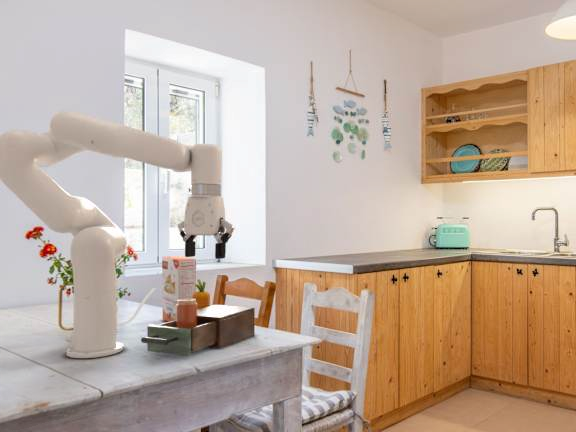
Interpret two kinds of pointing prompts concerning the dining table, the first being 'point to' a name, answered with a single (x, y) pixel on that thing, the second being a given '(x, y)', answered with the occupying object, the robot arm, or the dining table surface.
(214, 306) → the cabinet
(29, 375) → the dining table surface
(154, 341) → the drawer
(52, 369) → the dining table surface
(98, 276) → the robot arm
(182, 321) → the spice jar
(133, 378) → the dining table surface
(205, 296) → the carrot
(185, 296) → the cracker box
